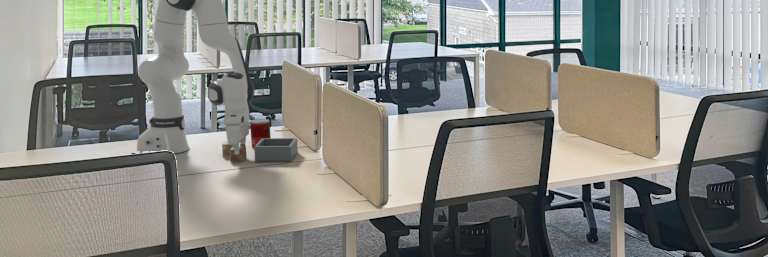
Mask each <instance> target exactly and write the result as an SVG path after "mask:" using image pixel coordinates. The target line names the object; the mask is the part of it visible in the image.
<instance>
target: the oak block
mask: <svg viewBox="0 0 768 257" xmlns="http://www.w3.org/2000/svg"><path fill="white" fill-rule="evenodd" d="M232 147H233V145H229V143H228V140H225V141H221V148H222V157H225V158H226V157H230V149H231V148H232Z"/></svg>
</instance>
